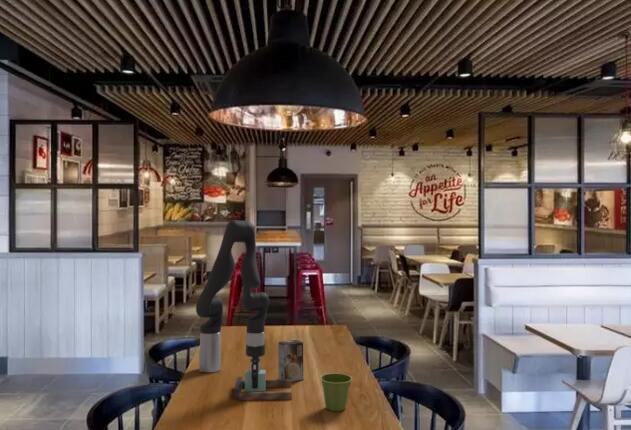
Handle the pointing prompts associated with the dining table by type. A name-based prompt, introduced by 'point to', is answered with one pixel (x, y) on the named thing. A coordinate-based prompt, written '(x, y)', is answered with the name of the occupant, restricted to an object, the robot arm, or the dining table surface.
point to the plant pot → (336, 390)
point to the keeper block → (260, 381)
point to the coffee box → (290, 360)
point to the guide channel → (262, 395)
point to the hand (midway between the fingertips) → (255, 385)
